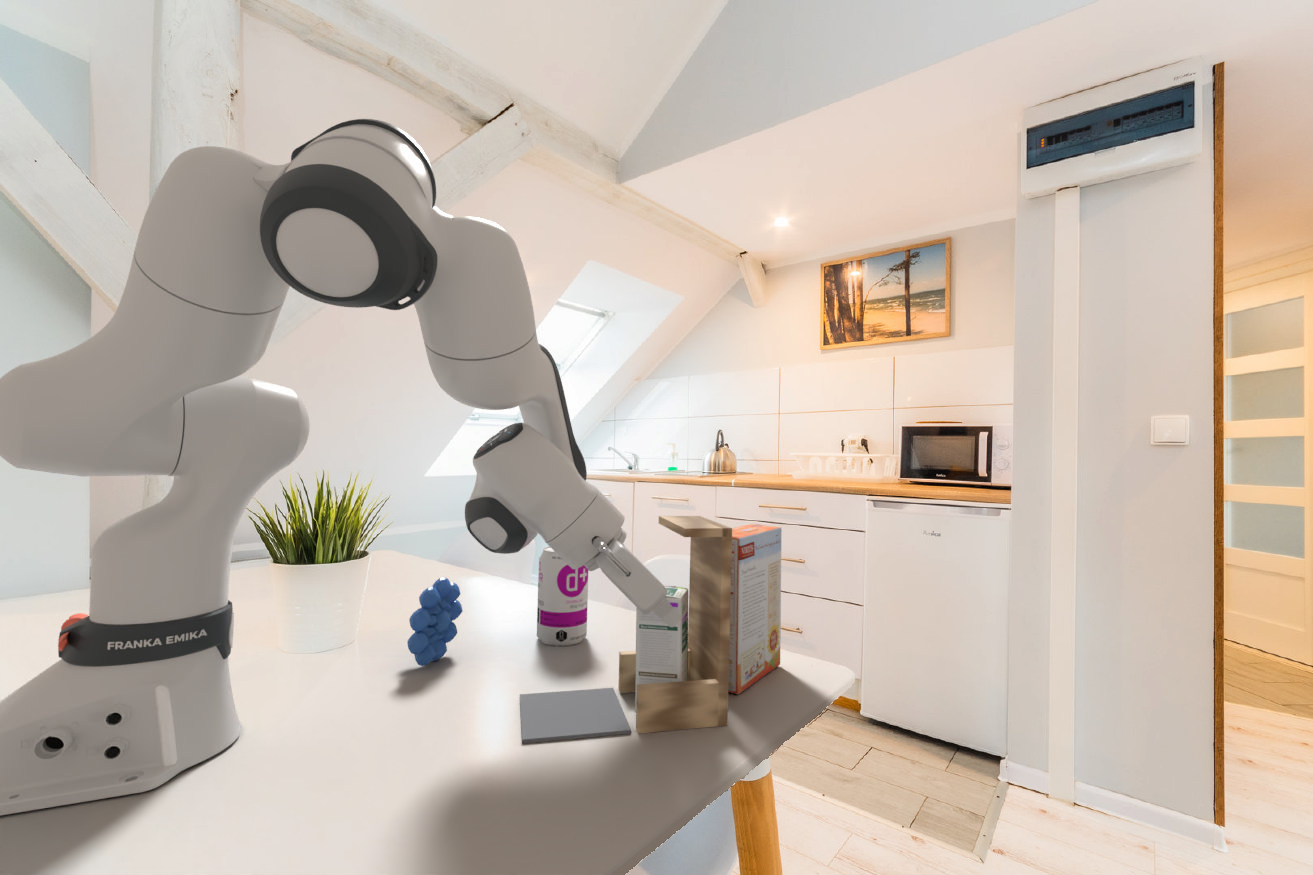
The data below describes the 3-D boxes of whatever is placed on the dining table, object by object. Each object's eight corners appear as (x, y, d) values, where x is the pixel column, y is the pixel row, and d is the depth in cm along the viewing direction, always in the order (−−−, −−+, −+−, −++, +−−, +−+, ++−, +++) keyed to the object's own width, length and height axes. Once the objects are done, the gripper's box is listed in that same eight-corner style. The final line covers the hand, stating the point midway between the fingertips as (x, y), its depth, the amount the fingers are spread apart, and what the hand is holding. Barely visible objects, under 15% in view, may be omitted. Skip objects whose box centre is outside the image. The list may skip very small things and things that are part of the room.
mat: (521, 743, 64) (521, 739, 64) (519, 697, 76) (520, 694, 76) (631, 733, 67) (631, 729, 67) (613, 690, 79) (613, 687, 79)
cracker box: (745, 657, 93) (748, 522, 93) (781, 666, 90) (784, 526, 90) (698, 685, 82) (702, 531, 82) (738, 696, 78) (741, 536, 78)
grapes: (432, 645, 95) (434, 569, 95) (470, 649, 93) (473, 572, 93) (383, 671, 83) (386, 585, 84) (426, 676, 82) (428, 589, 82)
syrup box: (681, 720, 71) (684, 597, 71) (632, 714, 72) (636, 593, 72) (687, 700, 77) (690, 586, 77) (642, 695, 78) (645, 583, 78)
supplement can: (595, 641, 99) (597, 550, 99) (548, 650, 94) (551, 554, 94) (573, 628, 105) (575, 543, 106) (528, 636, 101) (531, 546, 101)
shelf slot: (637, 733, 67) (643, 528, 68) (618, 689, 79) (623, 516, 80) (727, 725, 70) (732, 528, 70) (695, 683, 82) (699, 515, 82)
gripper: (623, 525, 63) (710, 614, 65) (596, 506, 82) (663, 575, 85) (579, 568, 61) (669, 658, 64) (563, 539, 81) (632, 608, 83)
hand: (665, 610), depth 74 cm, fingers open, 8 cm apart
